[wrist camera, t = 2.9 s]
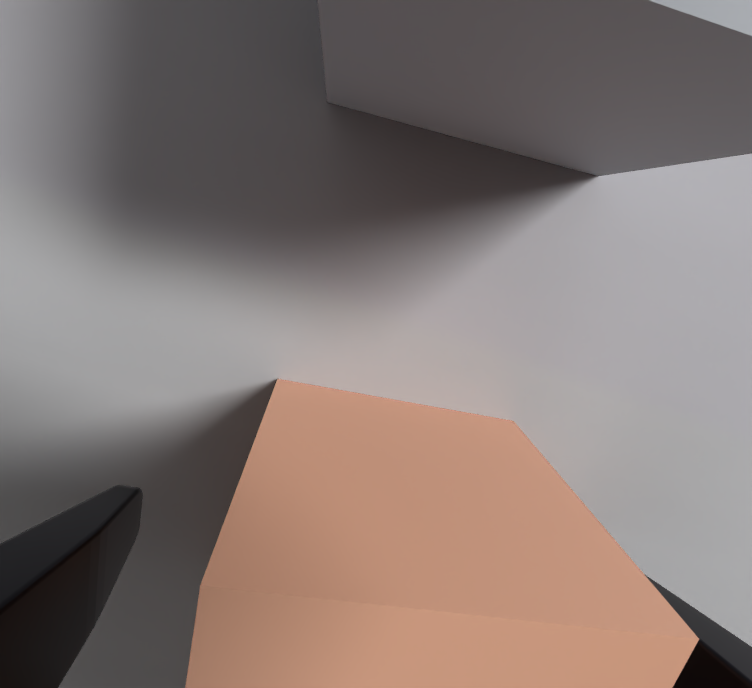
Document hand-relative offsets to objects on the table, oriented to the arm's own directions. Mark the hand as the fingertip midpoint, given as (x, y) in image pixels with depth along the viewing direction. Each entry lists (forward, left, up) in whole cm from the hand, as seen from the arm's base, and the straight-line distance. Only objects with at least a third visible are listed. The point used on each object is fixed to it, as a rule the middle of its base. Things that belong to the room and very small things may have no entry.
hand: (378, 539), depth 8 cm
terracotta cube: (0, 0, -1) cm, 1 cm away
